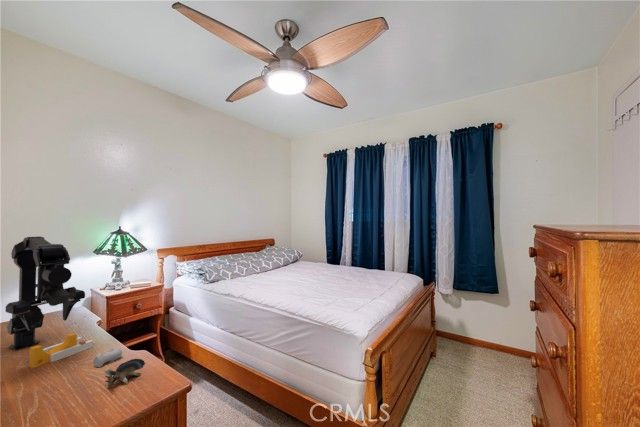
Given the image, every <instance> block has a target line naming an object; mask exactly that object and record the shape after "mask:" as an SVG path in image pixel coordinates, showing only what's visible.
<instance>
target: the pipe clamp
mask: <svg viewBox="0 0 640 427" xmlns="http://www.w3.org/2000/svg"><path fill="white" fill-rule="evenodd" d="M77 337H78V334H77V333H74V332H73V333H70V334H67V335H65V340H64V341H63V342H64V343H63V344H60V345H58V346H56V347H55V348H54V349H52V350H50V351H48V352H47V353H45V352H44V351H43V349H44V348H43V346H42V345H39V344H36V345H34V346H30V347H29V368H30V367H31V368H33V369H34V368H37V367H39V366H43V365H45V364H47V363H49V362H50V354H53V353H56V352H58V351H61V350H64V349H67V348H70V347H72V346H75V345H77Z"/></svg>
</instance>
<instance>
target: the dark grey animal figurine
mask: <svg viewBox="0 0 640 427" xmlns="http://www.w3.org/2000/svg"><path fill="white" fill-rule="evenodd" d="M145 364H146V362H145V360H143V359H141V358H132V359H130V360H127V361H125V362H123V363H120V364H119V365H118V367H117V368H116V370H112V369H107V370H105V371H104V374H105V375H104V378H107V380H106V379H105V380H104V382H105V383H107V384H108V386H107V389H110V388H111V387H112V386H113V384H115V382H117V381H118V380H119V381H120V382H123V383H124V384H125V385H128V379H127V378H126V377H127V376H137V377H139V376H141V375H142V373H141V372H136V371H137V370H138V371H139V370H140V369H143V368H144V366H145Z"/></svg>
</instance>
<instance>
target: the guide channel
mask: <svg viewBox="0 0 640 427" xmlns="http://www.w3.org/2000/svg"><path fill="white" fill-rule="evenodd" d="M93 342H94V340H91V339H90V340H87V341H86V340H84V339H83V337H82V336H77V345H75V346H72V347H70V348H67V349H64V350H61V351H58V352H56V353H53V354H50V362H51V363H53V362H58V361H60V360H62V359H65V358H68V357H70V356H72V355H76V354H78V353H80V352H83V351H85V350H89V349H91V348H93V346H94V343H93ZM63 343H64V341H63V342H60V343H57V344H54V345H51V346H48V347H45V348H42V349H43V351H44V352H45V353H47V352H48V351H50V350H52V349H54V348H55V347H56V346H58V345H60V344H63Z"/></svg>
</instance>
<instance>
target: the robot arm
mask: <svg viewBox="0 0 640 427" xmlns="http://www.w3.org/2000/svg"><path fill="white" fill-rule="evenodd" d="M10 256H11V259H12V260H13V263H14V264H15V266H16V267H17V268H18V269H19V275H18V278H19V280H18V281H19V282H18V300H17V301H13V302H12V301H11V302H9V303H8V302H7V304H6V306H5V312H4V313H8V314H11V318H9V321H8V324H7V327H6V328H7V331H6V332H7V333H8V334H9V335H13V344H10V345H8V347H9V348H10V349H12V350H15V351H17V350H18V351H19V350H22V349H24V348H27V347H32V346H33V345H34V346H35V345H39V344H40V341H39V340H36V329H38V328H39V329H40V328H42V327H43V323H44V318H45V314H44V313H43V312H42V308H40V306H42V305H46V304H48V305H49V306H51V307H57V306H58V305H62V320H63V321H67V320H68V317H69V315H70V313H71V312H72V310H73V307H74V306H75V305H76V304H77V303H79V302H81V300H82V299H85V298H86V292H85V291H84V290H82V289H77V288H76V287H75V286H70V287H67V288H66V287H65V288H64V285H65V283H67V282H68V281H70V280H71V278H72V274H73V273H72V272H71V270H70V269H69V268H67V267H65V265H67V264H70V261H71V257H70V255H69V252H68V250H67V248H66V247H64V245H63V244H61V243H51V242H49V241H48V240H46V239H45V237H44V236H27V237H24V238H23V240H22V241H20V242H19V243H16V244H14V245H13V248H12V250H11V254H10ZM37 267H38V268H37Z"/></svg>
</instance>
